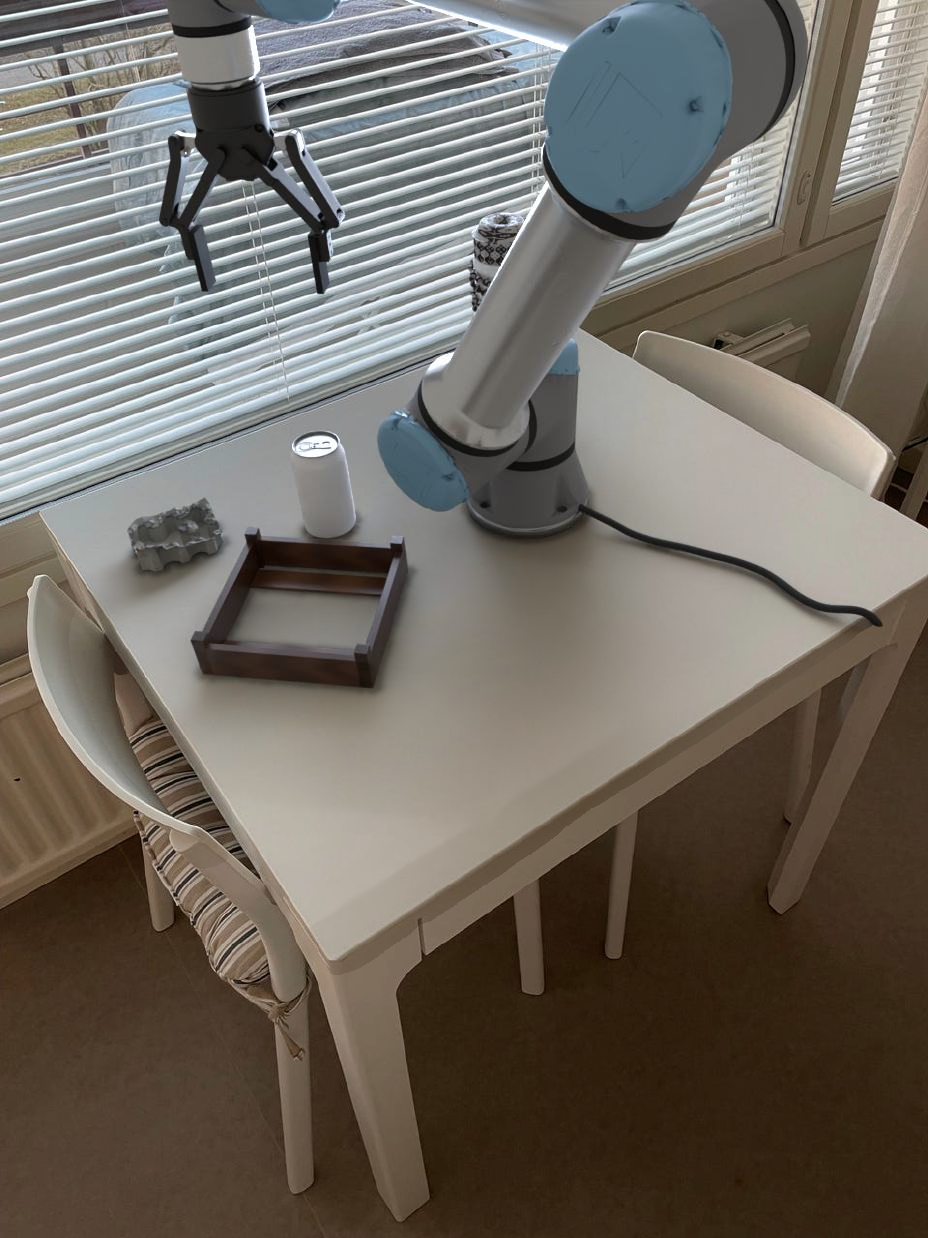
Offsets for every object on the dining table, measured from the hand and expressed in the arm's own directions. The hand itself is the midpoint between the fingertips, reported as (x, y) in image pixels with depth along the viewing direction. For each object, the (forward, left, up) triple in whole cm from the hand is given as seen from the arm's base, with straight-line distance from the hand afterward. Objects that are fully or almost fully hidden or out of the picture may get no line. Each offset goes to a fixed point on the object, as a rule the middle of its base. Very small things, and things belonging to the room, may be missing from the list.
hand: (265, 287), depth 106 cm
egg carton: (+12, +15, -27) cm, 33 cm away
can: (-6, +9, -27) cm, 29 cm away
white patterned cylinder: (-27, -38, -26) cm, 53 cm away
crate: (-8, +26, -27) cm, 38 cm away
